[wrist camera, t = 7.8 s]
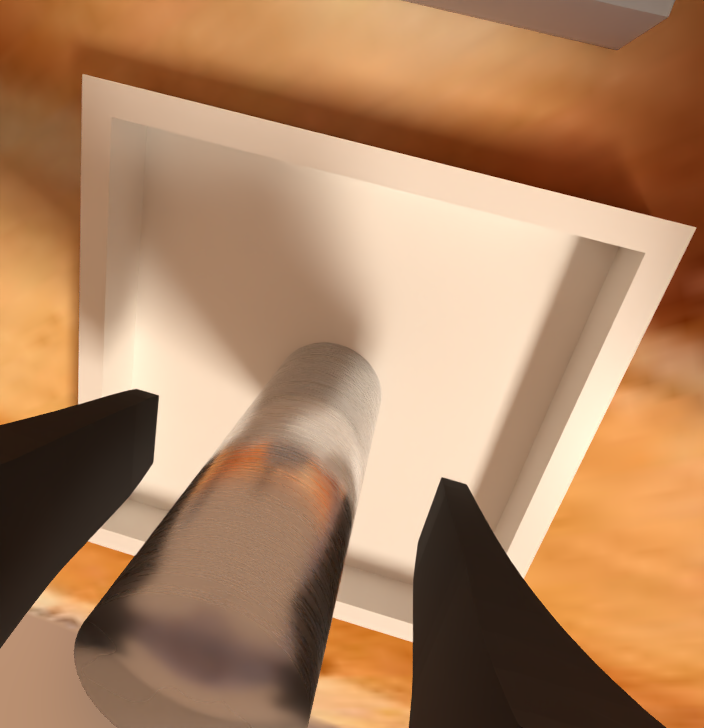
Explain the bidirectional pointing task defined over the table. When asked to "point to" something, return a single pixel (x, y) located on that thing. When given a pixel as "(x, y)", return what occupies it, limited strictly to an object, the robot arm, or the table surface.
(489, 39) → the table surface
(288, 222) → the tray
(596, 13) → the socket block
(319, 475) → the pin
